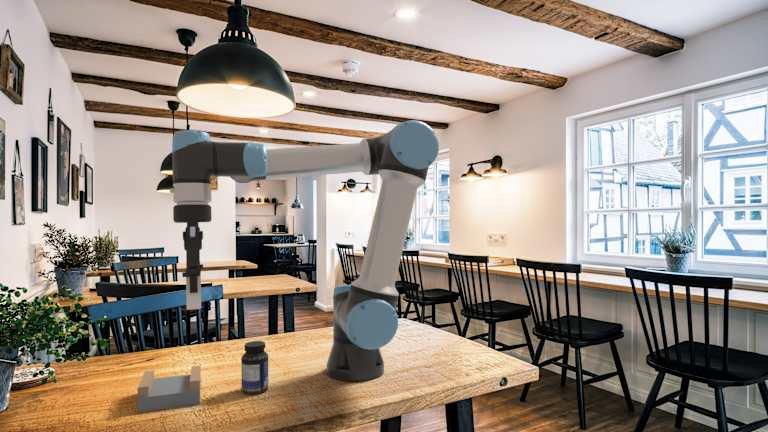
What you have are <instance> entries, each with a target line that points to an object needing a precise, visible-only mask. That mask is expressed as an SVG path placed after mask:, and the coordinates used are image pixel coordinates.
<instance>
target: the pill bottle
mask: <svg viewBox="0 0 768 432" xmlns="http://www.w3.org/2000/svg"><path fill="white" fill-rule="evenodd" d="M265 349H266V342H265V341H262V340H261V341H260V340H253V341H248V342H246V343H245V344H244V351H245V353H244V354H242V356H241V392H242V393H243V394H245V395H251V396H253V395H254V396H255V395H259V394H262V393H264V392H266V391H267V390H268V389H269V354H268V353H267V352H266V351H265Z"/></svg>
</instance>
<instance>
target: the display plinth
mask: <svg viewBox="0 0 768 432" xmlns="http://www.w3.org/2000/svg"><path fill="white" fill-rule="evenodd" d="M201 369H202V367H201V365H192V366H191V368H190V374H184V375H175V376H174V375H172V376H164V377H156V378H155V370H149V371H144V372H143V375H142V377H141V379H140V381H139V385H138V386H137V398H136V400H137V402H136V403H137V405H136V406H137V407H136V410H137V411H136V413H138V414H140V413H145V412H152V411H161V410H167V409H175V408H182V407H190V406H196V405H200V404H201V402H200V401H201V383H202V382H201V381H202V379H201V377H202V376H201Z"/></svg>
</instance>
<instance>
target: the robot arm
mask: <svg viewBox="0 0 768 432" xmlns="http://www.w3.org/2000/svg"><path fill="white" fill-rule="evenodd" d="M439 144H440V143H439V139H438V136H437V134H436V132H435V131H434V130H433V128H432V127H431V126H430V125H428V124H427V123H426V122H423V121H420V120H414V119H412V120H411V119H409V120H406V121H402V122H400V123H398V124H396V125H395V127H393V128H392V129H391V130H389V131H388V132H386V133H385V134H382V135H379V136H377V137H369V138H362V139H361V141H360V142H358V143H357V142H356V143H355V142H354V143H343V144H329V145H328V144H327V145H325V144H324V145H313V146H298V147H297V146H296V147H284V148H283V147H282V148H269V149H268V148H267V146H266V145H265V144H264V143H259V142H252V141H248V142H230V141H229V142H228V141H227V142H226V141H225V142H224V141H222V142H221V141H220V142H219V141H213V140H211V136H210V134H209V133H208V132H205V131H203V130H195V129H194V130H193V129H188V130H187V129H186V130H179V131H176V132H175V133H174V134H173V136H172V147H171V148H172V150H171V162H172V187H173V188H170V189H169V193H171V194H173V195H172V200H173V201H172V202H173V203H176V205H173V208H172V214H173V215H172V219H173V222H174V223H175V224H178V223H179V224H184V223H185V224H186V227H185V229H184V230H185V231H182V240H183V247H184V248H183V250H184V251H185V253H186V254H185V255H186V257H185V259H186V261H185V262H186V265H185V267H186V269H185V272H182V276H181V277H182V278H185V289H186V290H185V292H186V295H185V297H186V299H185V300H186V302H185V303H186V310H187V311H188V310H189V311H191V310H201V309H202V281H201V280H202V277H201V275H202V274H201V272H202V269H204V263H203V264H201V258H200V256H201V255H200V253H201V252H200V251H201V250H202V249H203V240H204V230H201V228H200V226H199V223H210V222H212V206H211V204H209V203H211V202H212V183H211V179H212V177H217V178H219V177H223V178H224V177H226V178H228V177H229V178H230V179H232V180H233V181H235V182H236V183H239V184H247V183H250V182H255V181H264V180H274V179H275V180H278V179H288V178H289V179H291V178H301V177H311V176H325V175H336V174H337V175H338V174H351V173H359V172H360V173H361V172H362V173H363V174H364V175H366V176H369V175H370V176H371V175H373V176H374V175H379V177H380V178H381V180H382V182H381V186H380V191H379V194H378V198H377V202H376V207H375V211H374V215H373V218H372V219H373V220H372V222H371V223H372V224H371V227H370V232H369V236H368V240H367V243H366V249H365V252H364V257H363V260H362V264H361V269H360V273H359V276H358V278H356V279H355V280H354V281H352V282H350V284H343V285H342V284H341V285H340V284H339V285H336V286H334V288H333V292H332V293H333V295H332V299H333V302H332V303H333V305H332V306H333V308H332V309H333V310H332V311H333V317H332V318H333V319H332V321H333V325H332V327H333V329H332V330H333V332H332V333H333V341H332V342H333V343H332V346H331V350H330V353H329V356H328V359H327V363H326V375H328V377H331V378H332V379H334V380H339V381H346V382H361V381H369V380H373V379H376V378H378V377H381V376H382V375H383V374H384V373H385V362H384V358H383V355H382V352H381V350H380V349H381V348H383V347H385V346H386V345H388V344H389V343H390V342H391V341H392V340H393V339H394V338H395V336H396V334H397V331H398V328H399V319H398V318H399V317H398V313H397V311H396V309H397V304H398V300H399V296H400V293H399V291H398V290H397V288H396V286H395V284H396V281H397V277H398V272H399V268H400V264H401V263H400V262H401V260H402V255H403V250H404V247H405V242H406V237H407V234H408V228H409V225H410V221H411V216H412V212H413V208H414V204H415V199H416V195H417V191H418V189H419V188H420V187H422V186H423V185H424V184H426V179H427V176H428V173H429V172H428V171H429V167H431V165H433V164H434V162H435V161H436V159H437V157H438V154H439V150H440V145H439Z"/></svg>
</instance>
